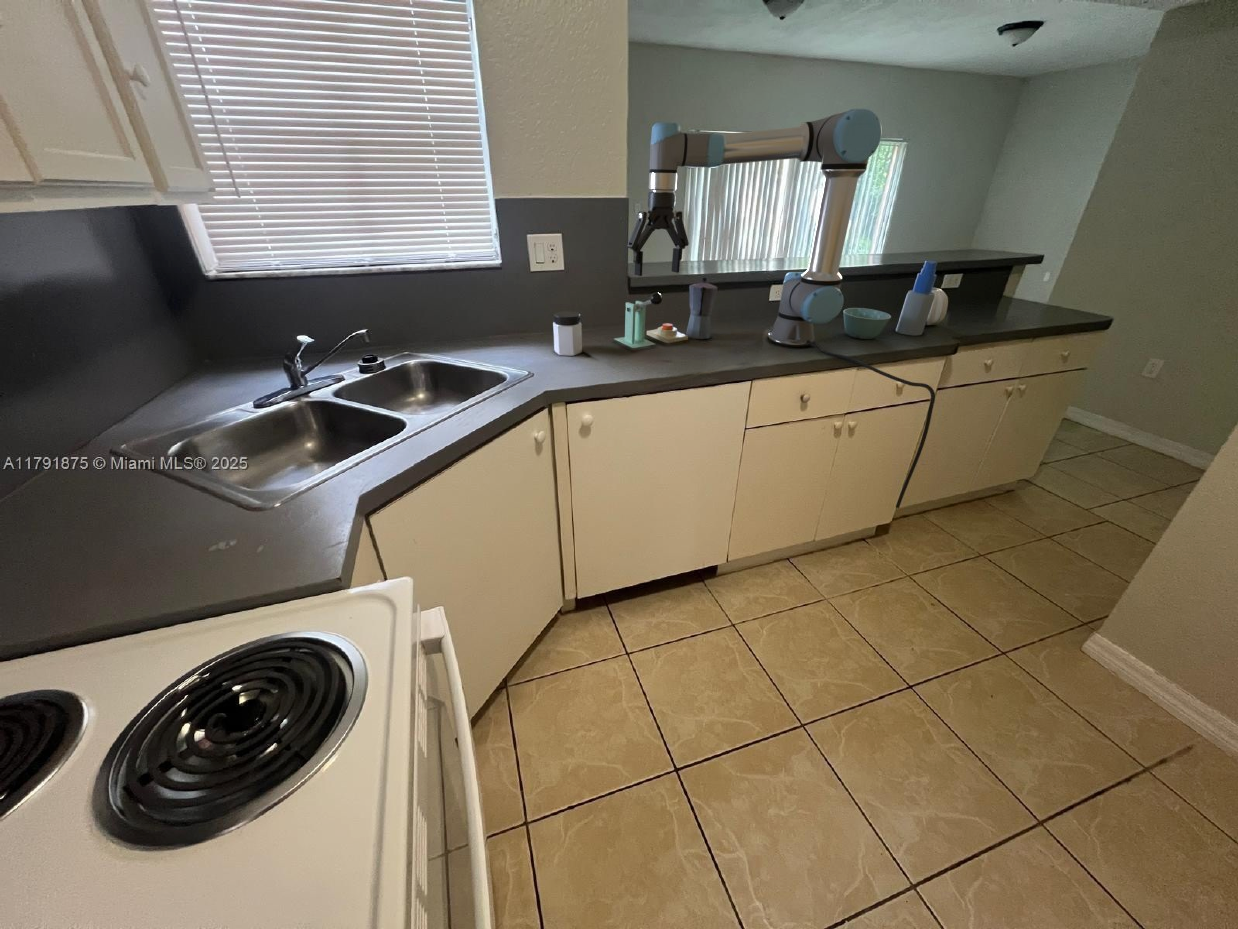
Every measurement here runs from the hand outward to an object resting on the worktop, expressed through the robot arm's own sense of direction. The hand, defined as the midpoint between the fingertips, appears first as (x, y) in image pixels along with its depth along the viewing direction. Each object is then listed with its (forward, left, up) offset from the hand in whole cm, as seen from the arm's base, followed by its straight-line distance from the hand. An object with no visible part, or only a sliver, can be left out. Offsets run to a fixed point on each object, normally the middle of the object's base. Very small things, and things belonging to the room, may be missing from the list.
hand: (657, 273), depth 144 cm
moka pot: (+7, -25, -25) cm, 36 cm away
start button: (+10, -13, -21) cm, 26 cm away
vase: (-22, -118, -25) cm, 123 cm away
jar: (+15, +23, -24) cm, 37 cm away
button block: (+10, -13, -24) cm, 29 cm away
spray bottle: (-27, -100, -24) cm, 107 cm away
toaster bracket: (+11, 0, -24) cm, 27 cm away
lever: (+4, 0, -11) cm, 12 cm away
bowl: (-21, -79, -25) cm, 85 cm away
